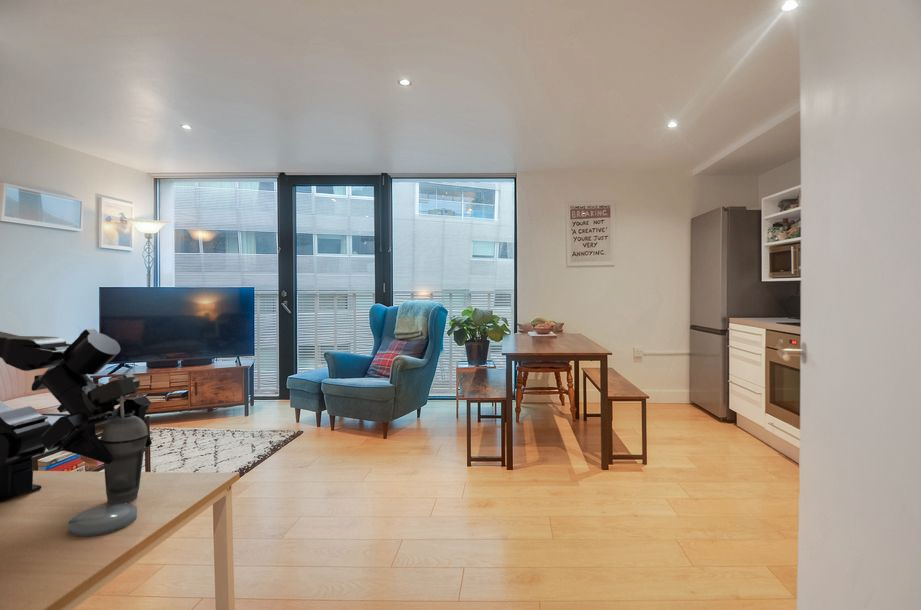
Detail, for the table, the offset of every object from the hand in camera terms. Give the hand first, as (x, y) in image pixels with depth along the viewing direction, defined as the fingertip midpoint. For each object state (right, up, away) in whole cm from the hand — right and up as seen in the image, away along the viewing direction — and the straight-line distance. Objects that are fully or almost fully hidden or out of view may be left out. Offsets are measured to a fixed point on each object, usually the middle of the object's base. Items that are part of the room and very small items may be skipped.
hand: (131, 453), depth 83 cm
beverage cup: (-2, -9, 0) cm, 9 cm away
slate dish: (+2, -9, -9) cm, 12 cm away
